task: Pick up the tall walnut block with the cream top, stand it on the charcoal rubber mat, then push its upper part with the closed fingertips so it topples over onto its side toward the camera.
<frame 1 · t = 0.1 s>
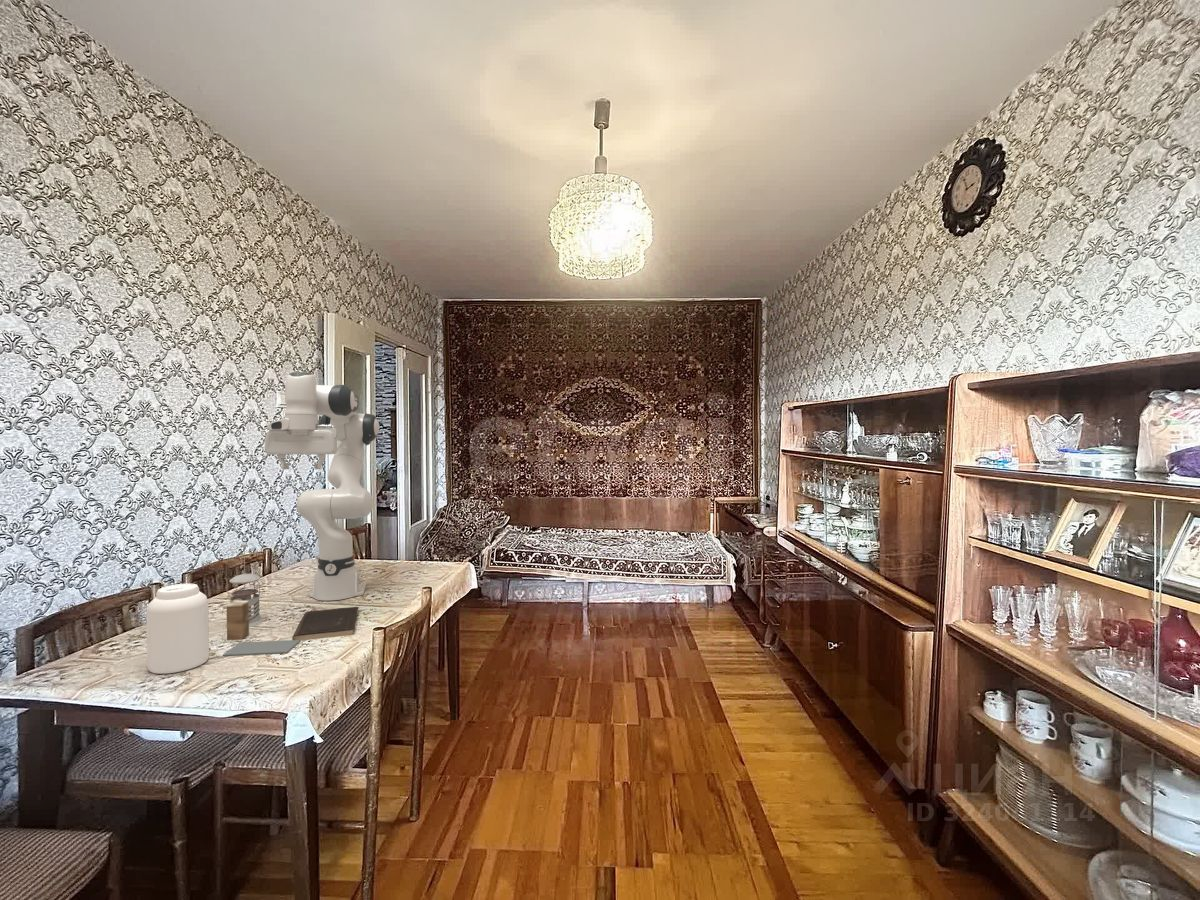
hand: (301, 469, 173), 48 cm above the table, fingers open, 8 cm apart
rubber mat: (262, 648, 153), on the table
white lidded jar: (179, 665, 142), on the table
hardcover book: (327, 627, 172), on the table
french press: (247, 622, 175), on the table
walnut block: (238, 637, 162), on the table
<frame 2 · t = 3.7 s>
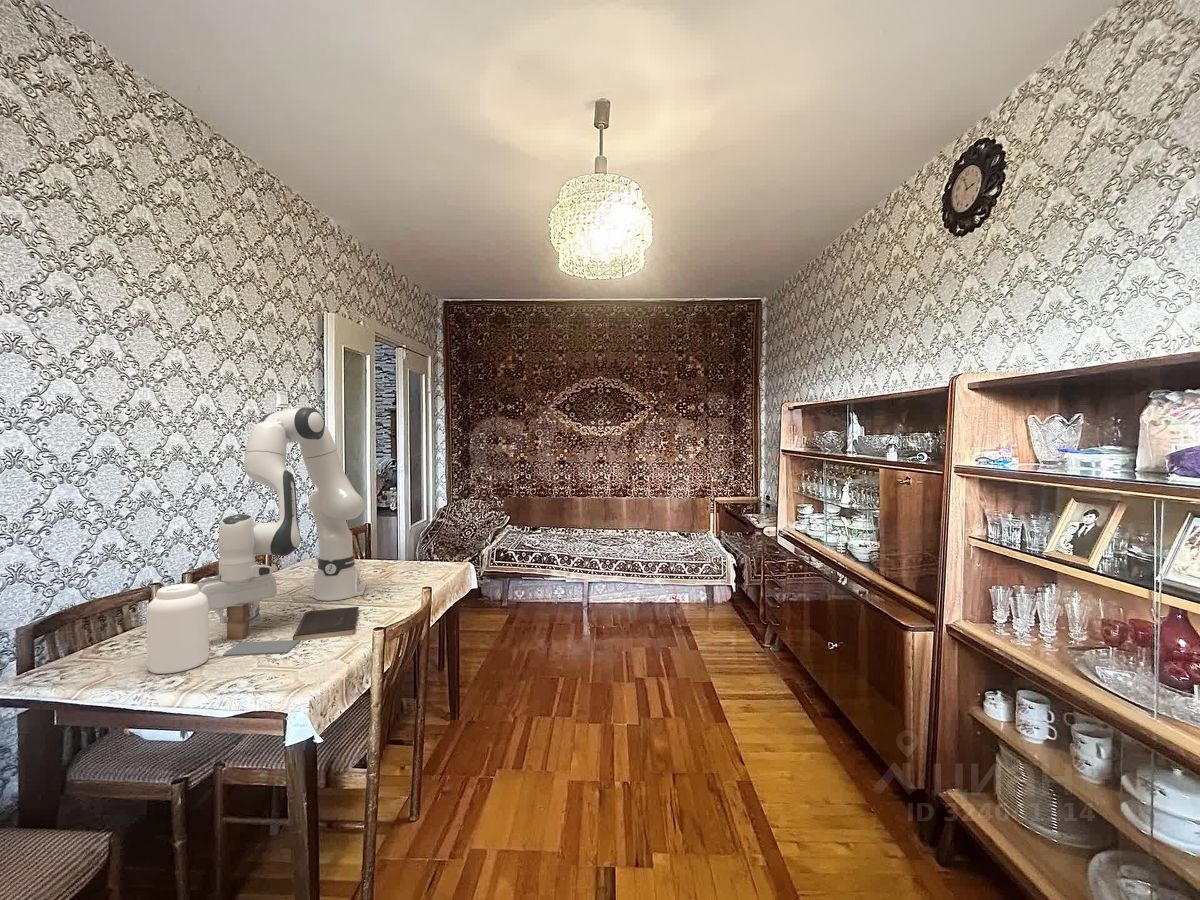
hand: (237, 619, 162), 5 cm above the table, fingers closed on walnut block, 6 cm apart
walnut block: (238, 637, 162), on the table, touching gripper
everything else where it was.
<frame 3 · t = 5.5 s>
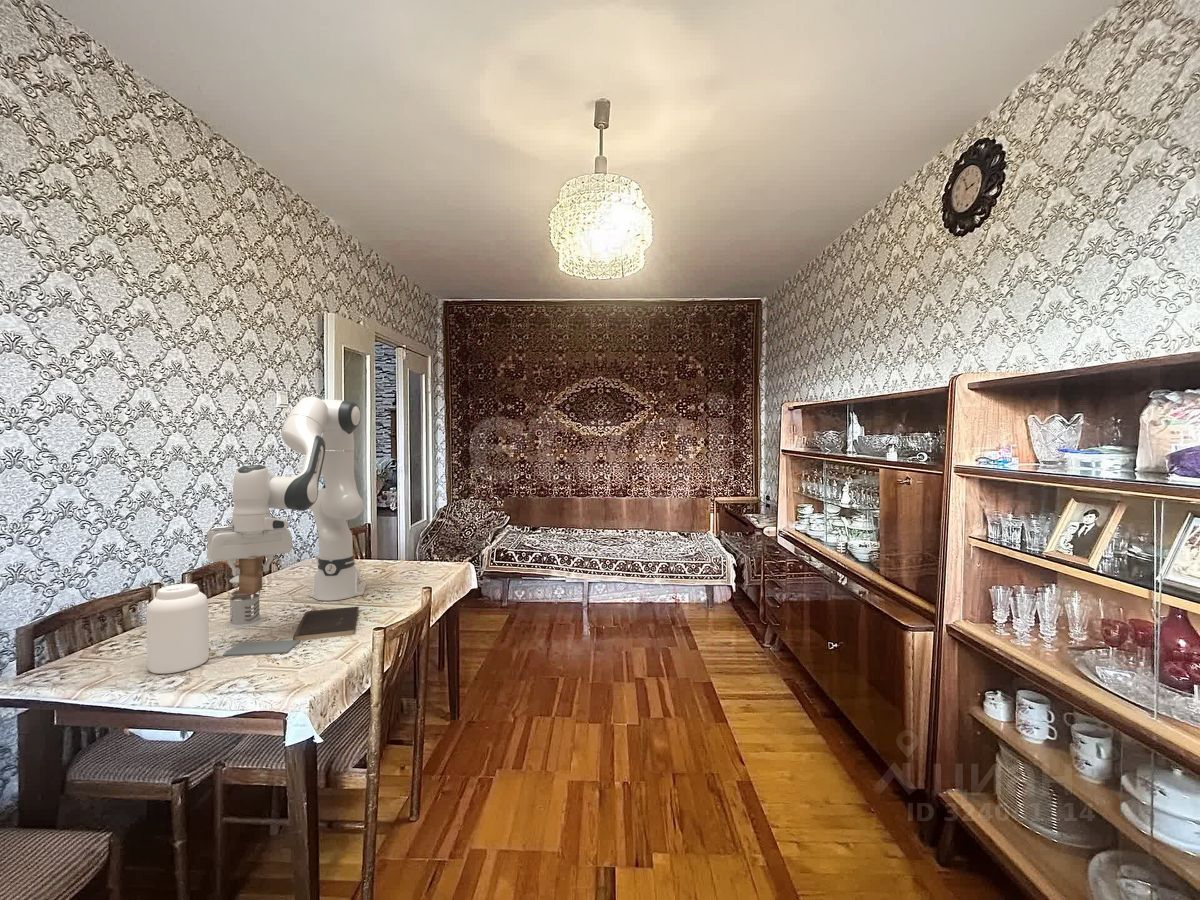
hand: (250, 573, 156), 20 cm above the table, fingers closed on walnut block, 6 cm apart
walnut block: (250, 591, 156), point 15 cm above the table, touching gripper
everything else where it was.
when the fingers open (6 cm above the table, at t = 7.8 s): walnut block stays where it is, resting on rubber mat.
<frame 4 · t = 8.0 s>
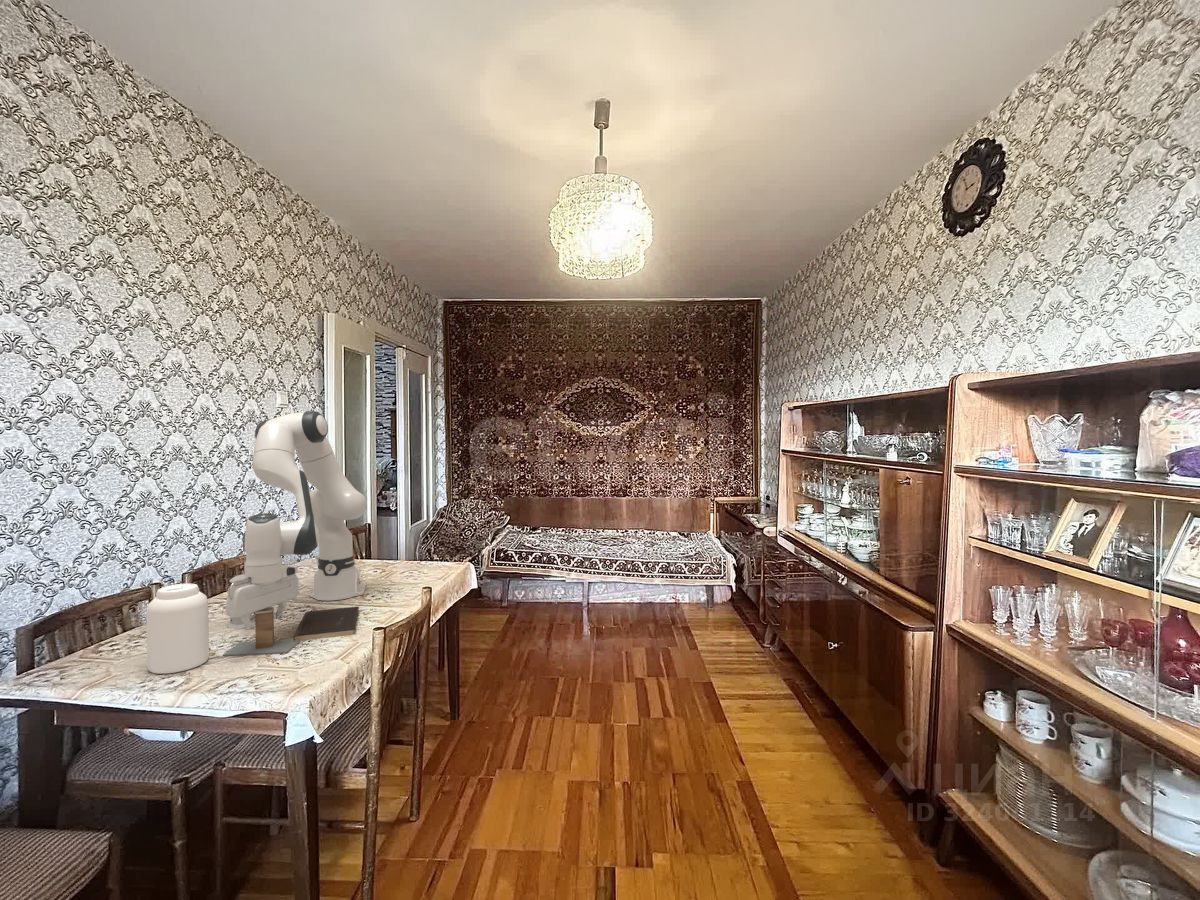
hand: (264, 623, 154), 6 cm above the table, fingers open, 8 cm apart
walnut block: (264, 645, 154), resting on rubber mat
everything else where it was.
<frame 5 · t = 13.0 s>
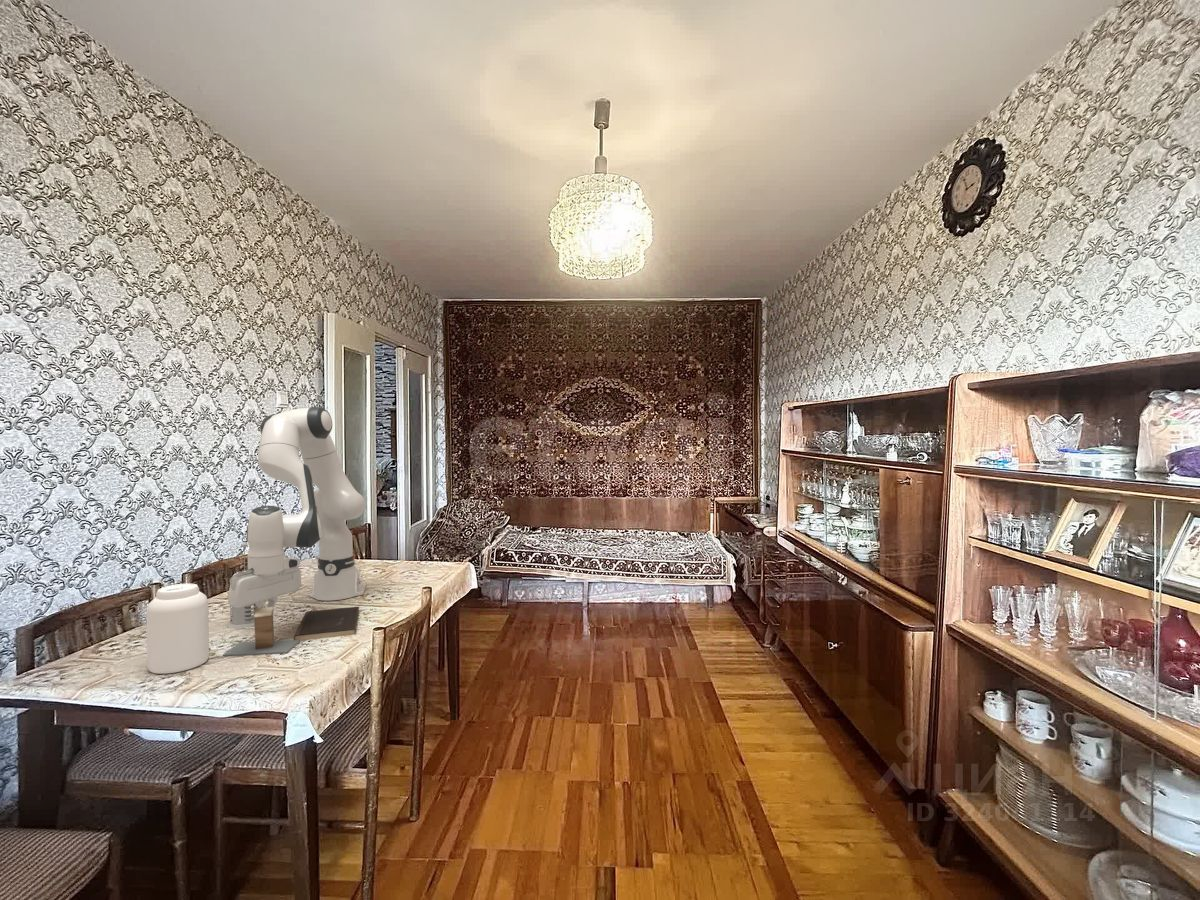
hand: (266, 614, 156), 8 cm above the table, fingers closed
walnut block: (264, 643, 154), point 1 cm above the table, tilted 14°, touching rubber mat
everything else where it was.
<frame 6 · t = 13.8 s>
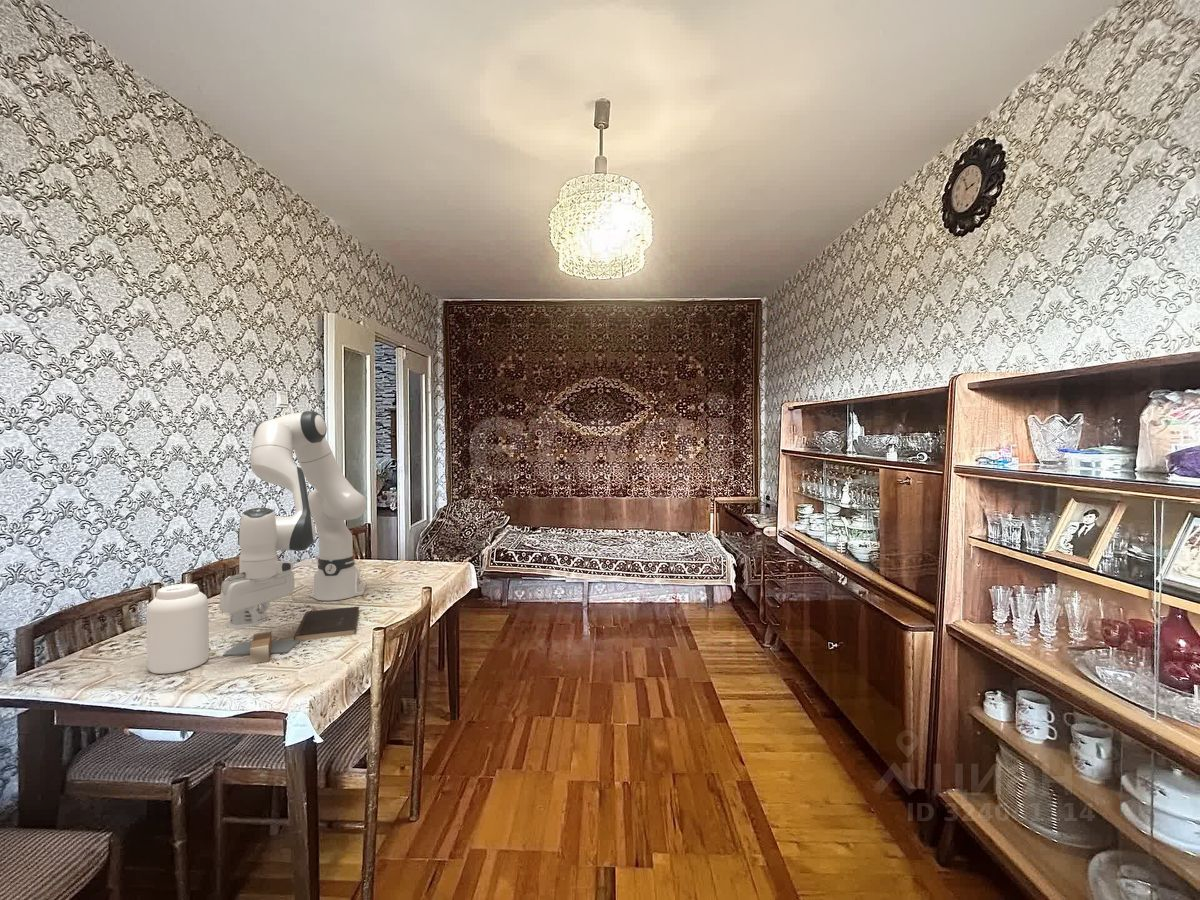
hand: (258, 620, 151), 8 cm above the table, fingers closed
walnut block: (263, 640, 152), point 3 cm above the table, tilted 93°, touching rubber mat
everything else where it was.
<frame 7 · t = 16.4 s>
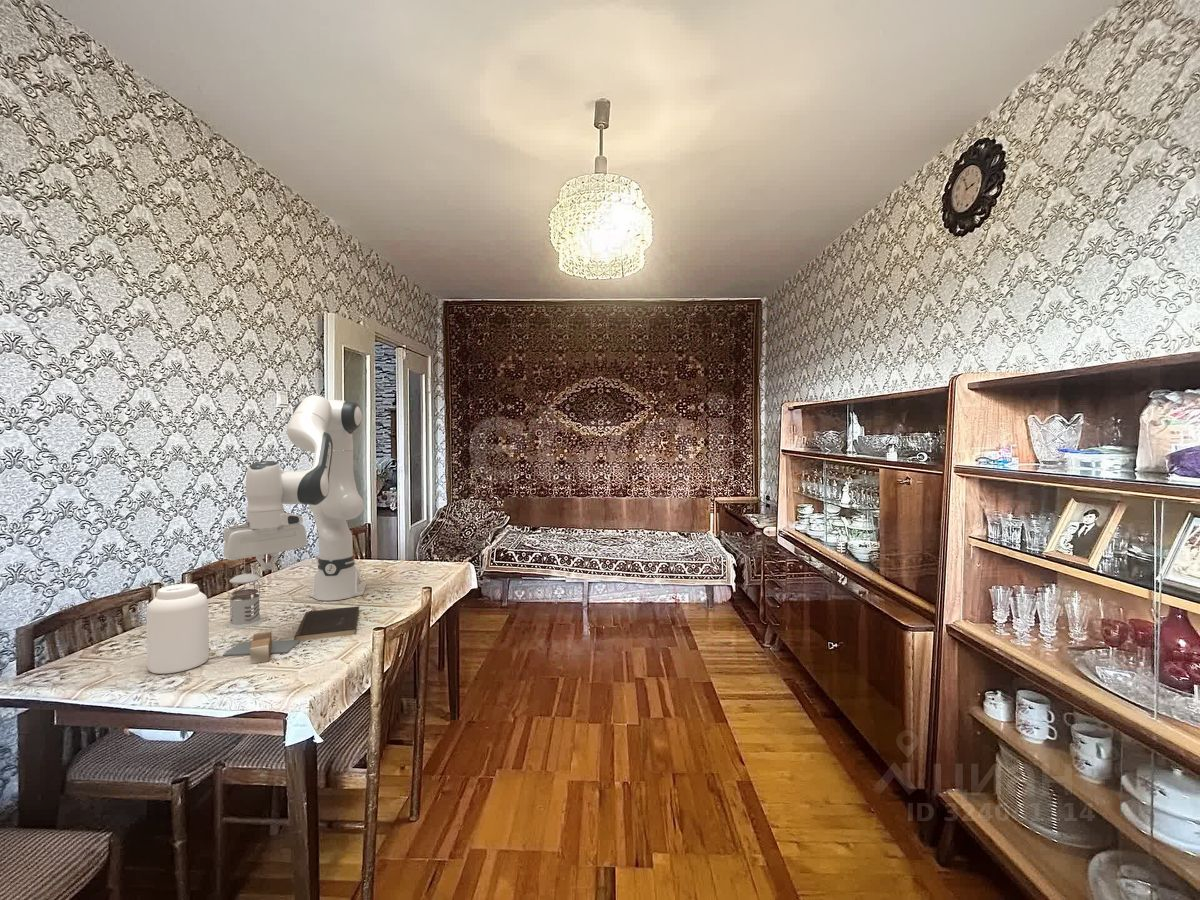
hand: (267, 569, 156), 21 cm above the table, fingers closed
nothing on the table moved.
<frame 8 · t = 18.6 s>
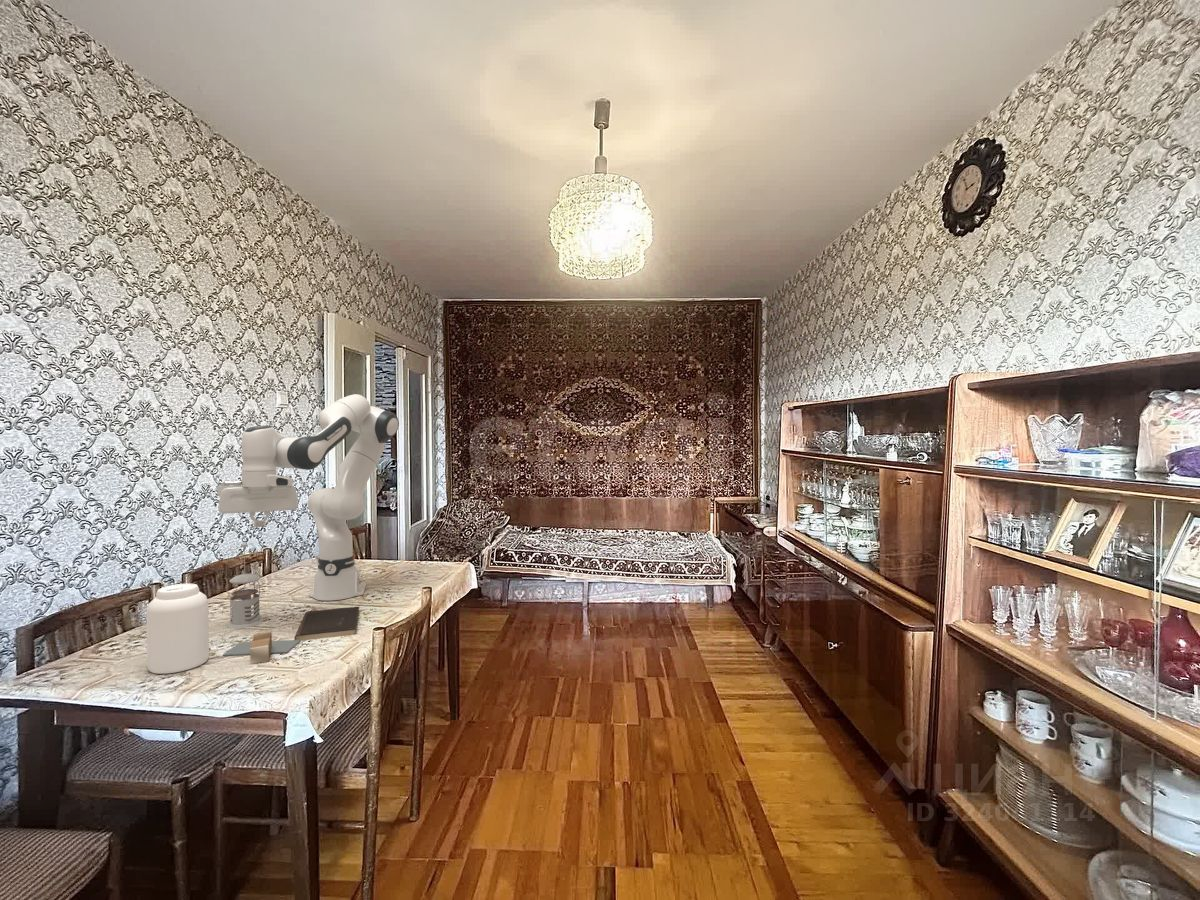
hand: (259, 526, 167), 31 cm above the table, fingers closed
nothing on the table moved.
at the end: walnut block tilted 93°; walnut block inside the target area (6.0 cm from its centre), point 2.6 cm above the table; the gripper is holding nothing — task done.
